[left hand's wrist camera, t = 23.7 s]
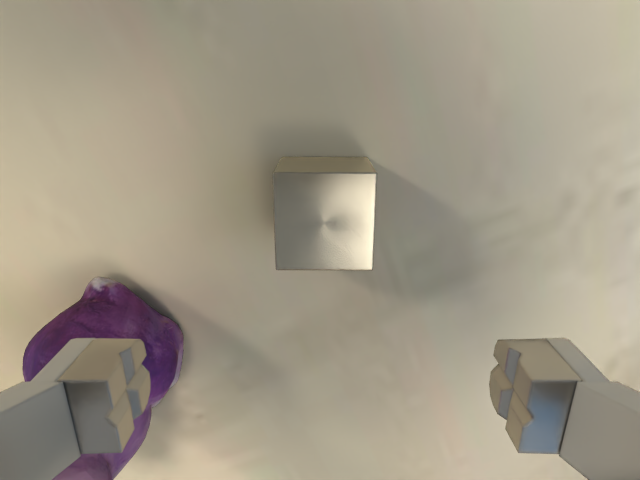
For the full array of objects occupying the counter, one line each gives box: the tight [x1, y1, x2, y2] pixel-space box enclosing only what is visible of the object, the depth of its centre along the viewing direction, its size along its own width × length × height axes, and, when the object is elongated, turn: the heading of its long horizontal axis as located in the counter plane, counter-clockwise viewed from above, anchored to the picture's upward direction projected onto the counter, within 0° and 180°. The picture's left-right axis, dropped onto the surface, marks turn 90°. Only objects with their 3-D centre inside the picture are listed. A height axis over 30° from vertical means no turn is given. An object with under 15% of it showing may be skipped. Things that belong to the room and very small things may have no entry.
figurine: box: [23, 277, 183, 480], centre depth 23 cm, size 9×10×15 cm
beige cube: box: [272, 157, 377, 270], centre depth 24 cm, size 5×5×5 cm
